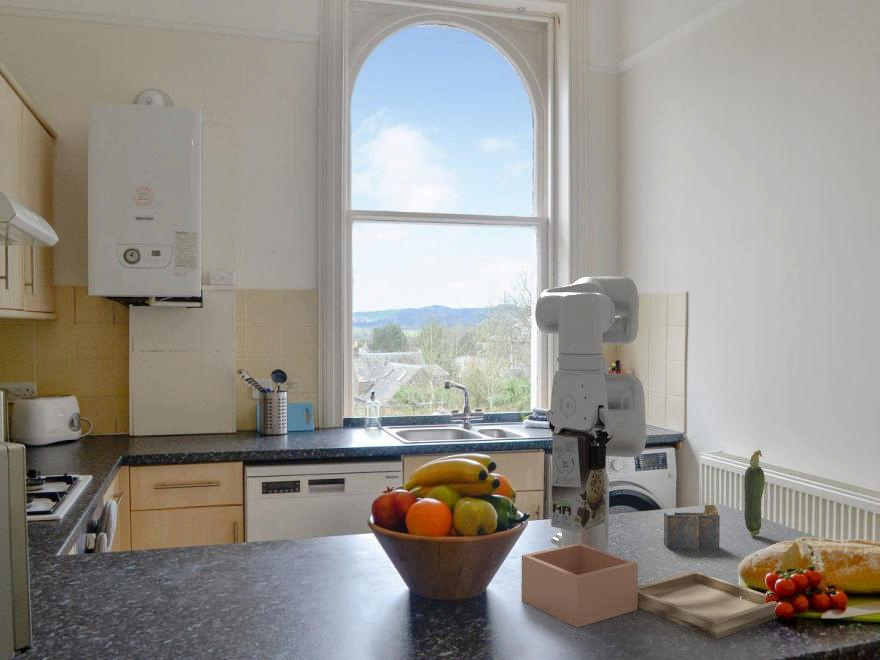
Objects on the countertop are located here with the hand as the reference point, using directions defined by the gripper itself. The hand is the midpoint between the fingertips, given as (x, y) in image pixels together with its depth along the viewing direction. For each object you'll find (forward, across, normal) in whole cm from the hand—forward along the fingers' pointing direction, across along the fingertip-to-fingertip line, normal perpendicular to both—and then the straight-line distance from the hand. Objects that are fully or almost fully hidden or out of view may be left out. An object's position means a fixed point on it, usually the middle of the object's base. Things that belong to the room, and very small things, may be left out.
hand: (579, 464), depth 130 cm
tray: (+24, +14, +16) cm, 32 cm away
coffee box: (+11, 0, 0) cm, 11 cm away
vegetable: (+25, -10, +64) cm, 70 cm away
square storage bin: (+24, 0, 0) cm, 24 cm away
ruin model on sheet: (+26, -12, +45) cm, 53 cm away
